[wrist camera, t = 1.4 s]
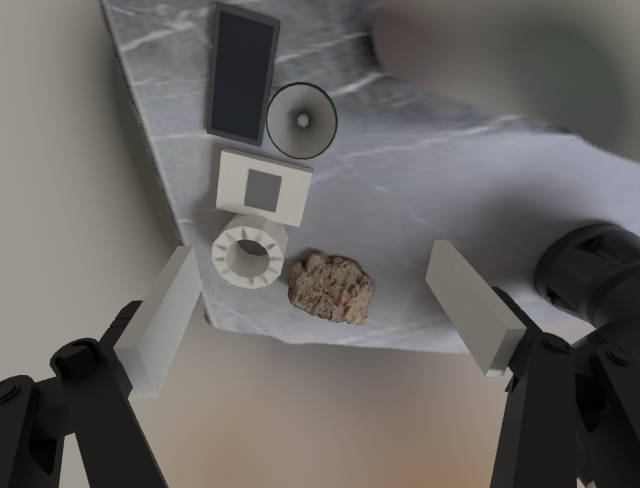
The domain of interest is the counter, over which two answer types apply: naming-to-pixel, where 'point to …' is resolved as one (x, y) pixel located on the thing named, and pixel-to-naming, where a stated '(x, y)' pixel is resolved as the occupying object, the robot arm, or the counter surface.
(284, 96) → the flashlight
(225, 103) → the phone
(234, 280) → the block
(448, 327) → the counter surface
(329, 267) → the rock
